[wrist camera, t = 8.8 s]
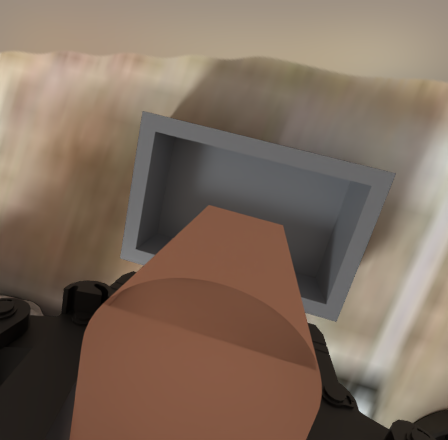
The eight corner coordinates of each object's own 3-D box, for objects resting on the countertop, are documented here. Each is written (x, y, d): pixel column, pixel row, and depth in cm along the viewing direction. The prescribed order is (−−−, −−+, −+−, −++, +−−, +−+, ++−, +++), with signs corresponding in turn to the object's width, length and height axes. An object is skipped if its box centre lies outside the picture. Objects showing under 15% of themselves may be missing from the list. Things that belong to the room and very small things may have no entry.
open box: (366, 169, 30) (395, 173, 24) (322, 288, 34) (336, 321, 28) (168, 119, 32) (142, 111, 26) (147, 238, 36) (120, 258, 29)
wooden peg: (282, 225, 14) (357, 519, 3) (252, 322, 16) (218, 768, 4) (209, 204, 15) (4, 396, 3) (185, 302, 16) (-8, 668, 5)
